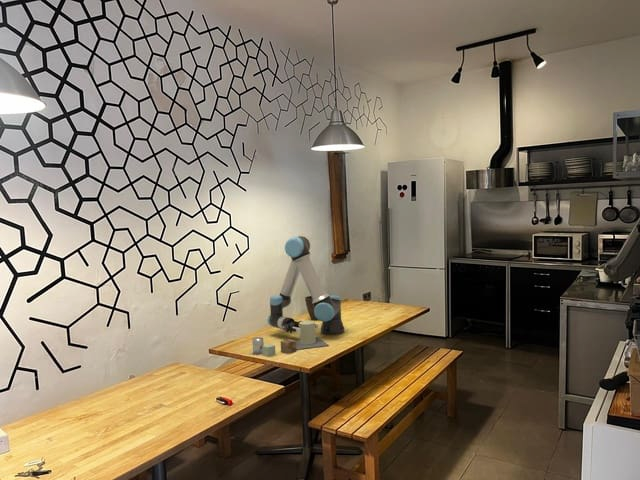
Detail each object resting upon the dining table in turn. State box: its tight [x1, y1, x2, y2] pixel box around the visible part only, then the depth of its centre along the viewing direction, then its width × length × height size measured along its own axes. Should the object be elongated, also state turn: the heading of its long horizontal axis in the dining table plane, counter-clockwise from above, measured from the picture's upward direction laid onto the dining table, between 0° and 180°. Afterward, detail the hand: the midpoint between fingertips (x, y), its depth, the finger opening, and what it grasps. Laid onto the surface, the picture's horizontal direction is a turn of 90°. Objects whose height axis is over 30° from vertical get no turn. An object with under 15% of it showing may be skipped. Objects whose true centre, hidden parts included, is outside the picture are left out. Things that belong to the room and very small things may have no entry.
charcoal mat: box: [294, 336, 330, 351], centre depth 272 cm, size 20×20×1 cm
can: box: [299, 320, 316, 344], centre depth 274 cm, size 9×9×12 cm
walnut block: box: [280, 338, 297, 355], centre depth 258 cm, size 6×6×6 cm
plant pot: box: [304, 295, 319, 321], centre depth 336 cm, size 15×15×16 cm
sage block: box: [261, 343, 277, 357], centre depth 254 cm, size 5×5×5 cm
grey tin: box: [251, 336, 265, 356], centre depth 258 cm, size 6×6×8 cm
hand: (309, 328), depth 270 cm, fingers open, 13 cm apart
